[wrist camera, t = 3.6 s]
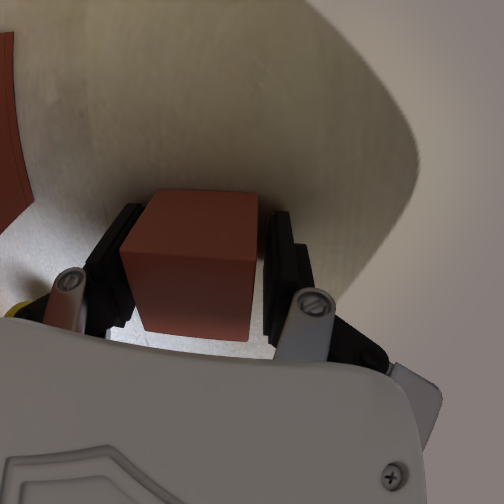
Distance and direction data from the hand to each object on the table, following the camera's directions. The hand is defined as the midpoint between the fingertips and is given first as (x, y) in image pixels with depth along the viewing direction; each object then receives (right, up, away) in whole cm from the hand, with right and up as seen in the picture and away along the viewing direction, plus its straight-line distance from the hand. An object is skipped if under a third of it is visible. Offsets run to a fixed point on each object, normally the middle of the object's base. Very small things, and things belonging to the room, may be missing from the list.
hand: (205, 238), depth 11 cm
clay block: (0, 0, 0) cm, 0 cm away
